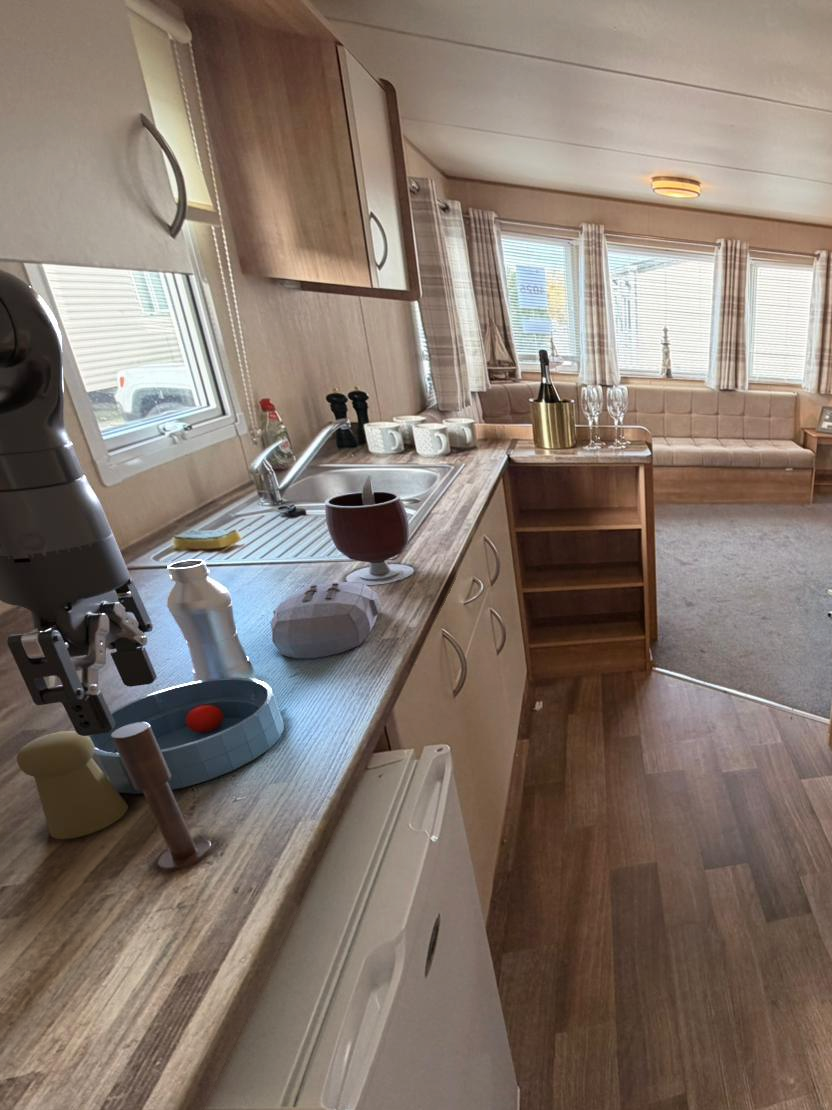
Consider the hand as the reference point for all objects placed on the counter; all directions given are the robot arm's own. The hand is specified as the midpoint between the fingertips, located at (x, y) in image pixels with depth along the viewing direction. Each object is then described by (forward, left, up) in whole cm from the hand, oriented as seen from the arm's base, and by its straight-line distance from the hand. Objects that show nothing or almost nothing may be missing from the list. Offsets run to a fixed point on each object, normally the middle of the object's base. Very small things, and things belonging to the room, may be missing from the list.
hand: (121, 706), depth 58 cm
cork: (-11, +10, -19) cm, 24 cm away
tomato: (-5, +25, -16) cm, 30 cm away
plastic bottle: (-6, +37, -19) cm, 42 cm away
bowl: (-5, +21, -19) cm, 28 cm away
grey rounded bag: (+4, +53, -19) cm, 56 cm away
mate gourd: (+8, +82, -19) cm, 84 cm away
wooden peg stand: (0, 0, -19) cm, 19 cm away
